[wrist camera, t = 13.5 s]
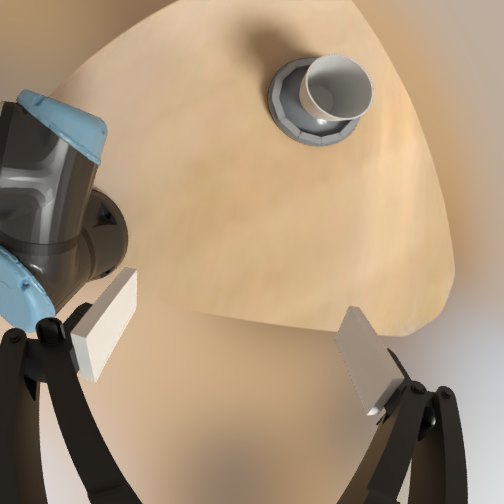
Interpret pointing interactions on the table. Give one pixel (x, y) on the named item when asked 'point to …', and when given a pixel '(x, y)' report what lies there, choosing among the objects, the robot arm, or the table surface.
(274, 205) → the table surface
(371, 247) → the table surface
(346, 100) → the cup
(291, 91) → the tray
